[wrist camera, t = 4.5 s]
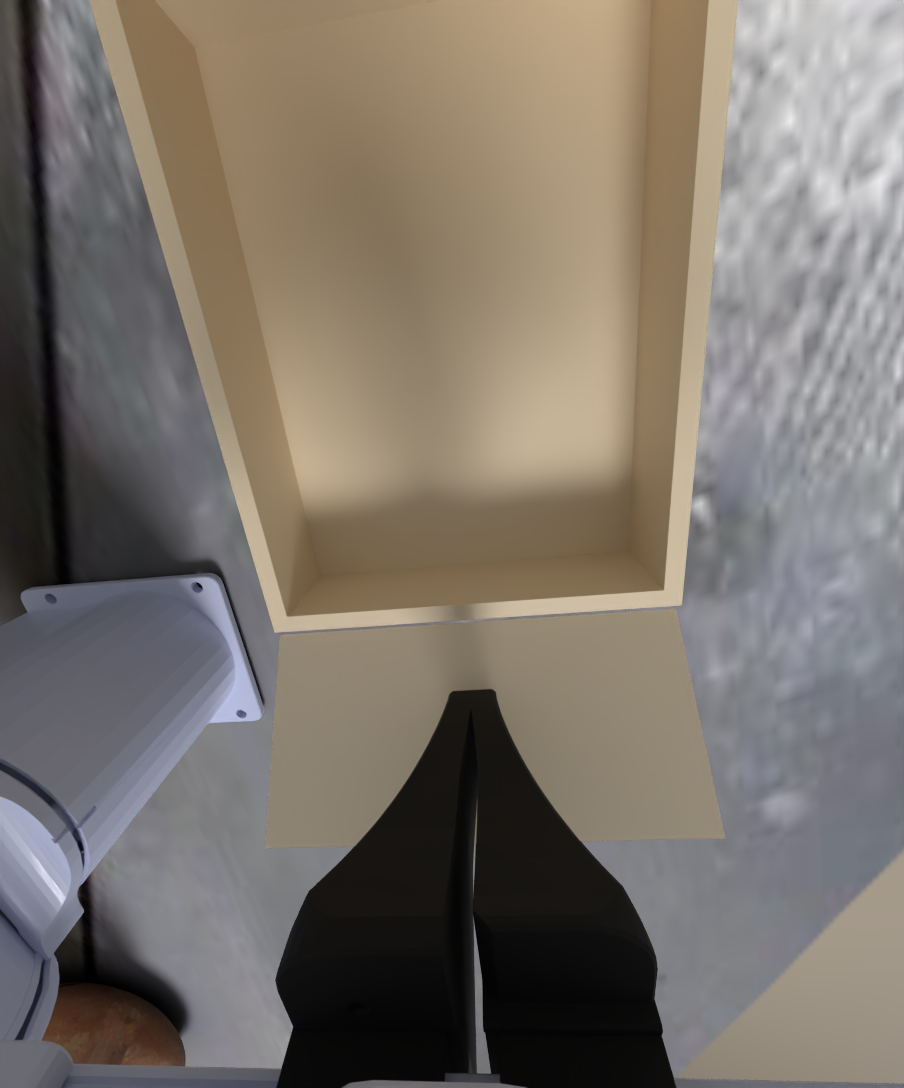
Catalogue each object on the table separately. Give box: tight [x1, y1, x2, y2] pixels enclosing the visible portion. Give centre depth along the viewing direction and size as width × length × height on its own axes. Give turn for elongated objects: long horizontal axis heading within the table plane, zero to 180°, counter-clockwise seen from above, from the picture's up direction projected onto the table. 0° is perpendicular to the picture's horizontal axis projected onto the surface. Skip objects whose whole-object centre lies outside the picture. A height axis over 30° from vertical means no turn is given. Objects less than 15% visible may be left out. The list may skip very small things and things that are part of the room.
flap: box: [265, 609, 725, 849], centre depth 14 cm, size 14×6×1 cm
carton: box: [89, 0, 738, 633], centre depth 13 cm, size 14×18×4 cm
